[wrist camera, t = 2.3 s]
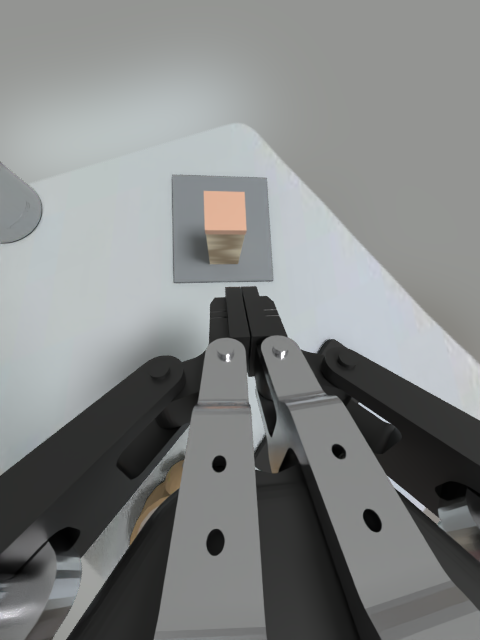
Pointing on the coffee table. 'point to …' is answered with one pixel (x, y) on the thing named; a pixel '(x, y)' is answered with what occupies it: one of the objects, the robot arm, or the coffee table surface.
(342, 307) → the coffee table surface
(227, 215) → the birch block
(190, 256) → the rubber mat
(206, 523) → the robot arm
